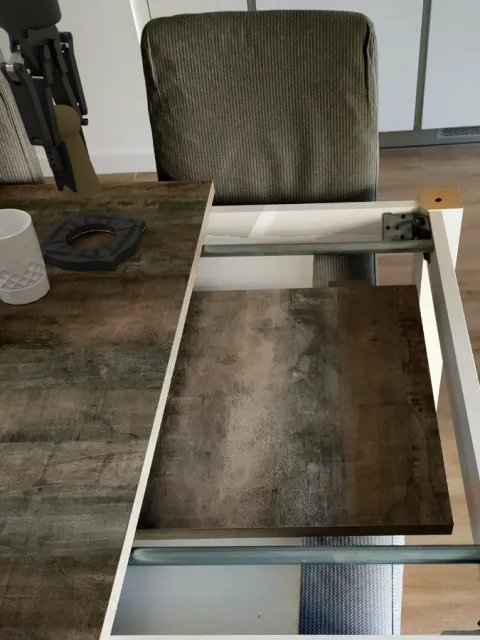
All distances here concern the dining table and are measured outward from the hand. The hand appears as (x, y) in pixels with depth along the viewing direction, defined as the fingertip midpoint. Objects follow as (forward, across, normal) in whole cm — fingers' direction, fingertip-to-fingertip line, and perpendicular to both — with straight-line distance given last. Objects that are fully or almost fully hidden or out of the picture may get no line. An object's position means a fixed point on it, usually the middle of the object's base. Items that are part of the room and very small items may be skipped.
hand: (76, 182), depth 91 cm
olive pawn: (+1, 0, 0) cm, 1 cm away
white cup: (+10, -13, +4) cm, 17 cm away
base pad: (+10, 0, 0) cm, 10 cm away
